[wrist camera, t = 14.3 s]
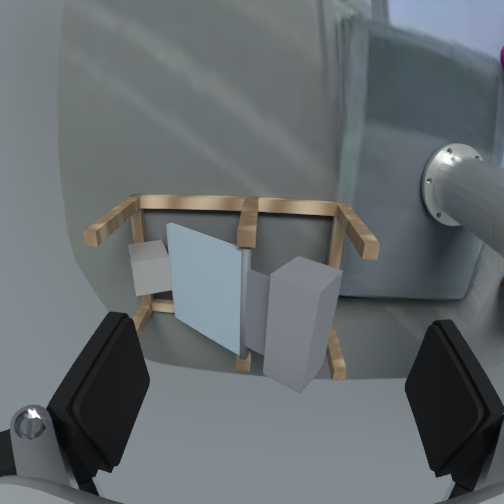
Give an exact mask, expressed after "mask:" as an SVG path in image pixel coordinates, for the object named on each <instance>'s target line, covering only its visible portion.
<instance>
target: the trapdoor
mask: <svg viewBox="0 0 504 504" xmlns="http://www.w3.org/2000/svg"><path fill="white" fill-rule="evenodd" d="M166 225H167V239H168V251H169V261H170V272H171V282H172V293H173V302H174V311H175V317H176V318H178V319H179V320H181V321H182V322H184V323H186V324H187V325H189V326H190V327H192V328H194V329H195V330H197V331H198V332H200V333H202V334H203V335H205V336H207V337H208V338H210V339H212V340H213V341H215V342H217V343H219V344H220V345H222V346H224V347H225V348H227V349H229V350H231V351H232V352H234V353H236V354H238V355H239V357H240V359H247V356H248V348H250V349H252V350H254V351H256V352H257V353H259V354H261V355H263V356H264V366H263V374H264V375H266V376H268V377H270V378H272V379H274V380H275V381H277V382H279V383H281V384H283V385H285V386H287V387H289V388H291V389H293V390H294V391H296V392H298V393H301V392H302V391H303V390H304V389H305V388H306V386H307V385H308V384H309V383H310V382H311V380H312V379H313V378H314V377H315V376H316V374H317V373H318V372H319V371H320V369H321V368H322V366H323V362H324V358H325V354H326V349H327V345H328V341H329V337H330V332H331V328H332V323H333V319H334V314H335V309H336V305H337V300H338V295H339V290H340V285H341V279H342V274H343V271H342V270H339V269H336V268H333V267H330V266H327V265H324V264H321V263H318V262H315V261H312V260H309V259H306V258H303V257H300V256H297V257H296V258H294V259H293V260H291V261H290V262H288V263H287V264H285V265H284V266H282V267H281V268H279V269H278V270H276V271H274V272H273V273H271V276H270V277H269V276H267V275H264V274H262V273H259V272H257V271H254V270H252V269H251V247H237V246H236V245H234V244H231V243H228V242H225V241H222V240H219V239H217V238H214V237H211V236H208V235H205V234H203V233H200V232H197V231H194V230H191V229H188V228H186V227H183V226H180V225H177V224H174V223H169V224H166Z"/></svg>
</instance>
